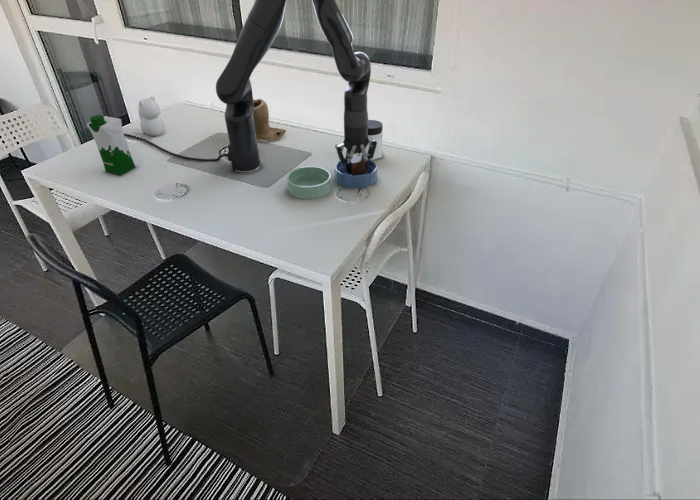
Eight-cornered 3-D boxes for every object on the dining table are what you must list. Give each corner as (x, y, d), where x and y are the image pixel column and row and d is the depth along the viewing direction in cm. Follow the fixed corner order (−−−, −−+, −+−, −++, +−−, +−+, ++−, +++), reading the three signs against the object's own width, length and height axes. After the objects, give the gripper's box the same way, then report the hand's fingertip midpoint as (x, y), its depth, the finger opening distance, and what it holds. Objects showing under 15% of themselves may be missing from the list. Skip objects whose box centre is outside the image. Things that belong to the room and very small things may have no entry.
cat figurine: (154, 140, 182) (143, 103, 173) (134, 133, 187) (123, 97, 178) (172, 132, 188) (162, 96, 179) (152, 126, 193) (142, 91, 184)
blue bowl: (334, 190, 148) (333, 176, 145) (336, 170, 159) (336, 157, 156) (377, 190, 147) (377, 176, 144) (376, 170, 158) (376, 157, 155)
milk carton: (102, 173, 160) (80, 117, 147) (122, 162, 166) (103, 108, 154) (120, 177, 157) (100, 121, 144) (140, 166, 163) (122, 112, 151)
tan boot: (239, 140, 180) (232, 103, 171) (255, 129, 189) (250, 93, 180) (272, 146, 175) (267, 108, 166) (287, 135, 184) (283, 98, 175)
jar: (367, 162, 163) (367, 130, 156) (354, 154, 169) (354, 123, 161) (386, 156, 167) (388, 124, 160) (374, 148, 173) (374, 117, 165)
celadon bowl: (285, 200, 143) (283, 186, 140) (291, 179, 154) (290, 166, 151) (329, 201, 142) (329, 187, 139) (332, 179, 153) (332, 166, 150)
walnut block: (352, 176, 149) (352, 163, 146) (347, 169, 152) (347, 157, 150) (365, 173, 150) (365, 161, 147) (360, 167, 153) (360, 155, 151)
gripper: (373, 115, 145) (372, 163, 156) (330, 121, 142) (332, 170, 152) (381, 123, 140) (380, 173, 150) (337, 129, 136) (339, 180, 147)
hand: (356, 171), depth 151 cm, fingers closed on walnut block, 4 cm apart
